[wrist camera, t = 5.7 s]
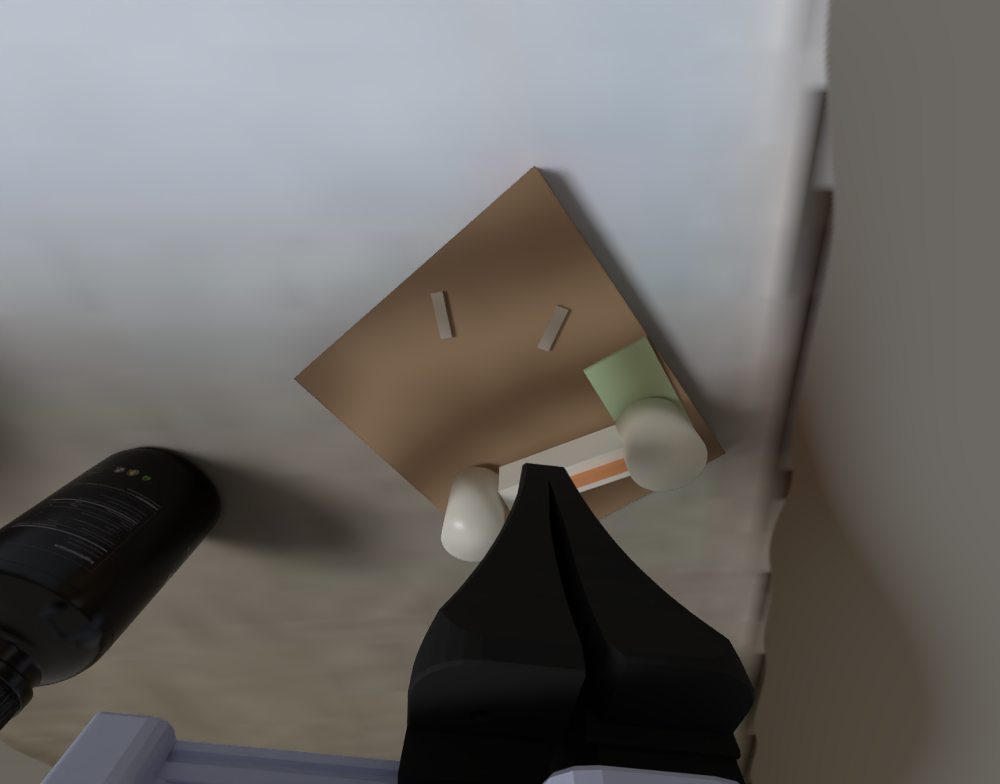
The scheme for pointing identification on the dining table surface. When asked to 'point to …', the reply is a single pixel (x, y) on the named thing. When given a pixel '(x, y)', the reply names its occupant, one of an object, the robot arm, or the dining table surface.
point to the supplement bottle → (93, 564)
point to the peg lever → (579, 471)
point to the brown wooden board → (497, 354)
